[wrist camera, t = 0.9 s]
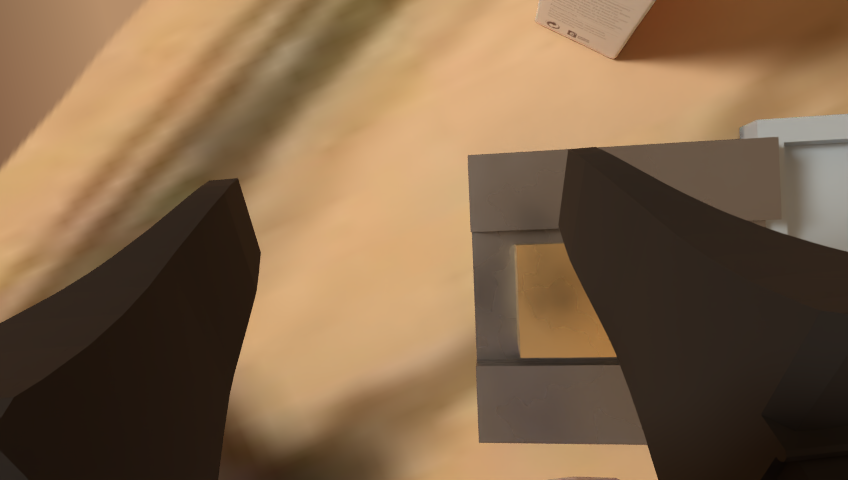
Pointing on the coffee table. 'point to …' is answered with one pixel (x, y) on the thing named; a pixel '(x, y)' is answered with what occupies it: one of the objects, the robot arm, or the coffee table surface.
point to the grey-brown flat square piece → (538, 223)
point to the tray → (810, 176)
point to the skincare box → (594, 21)
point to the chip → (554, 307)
